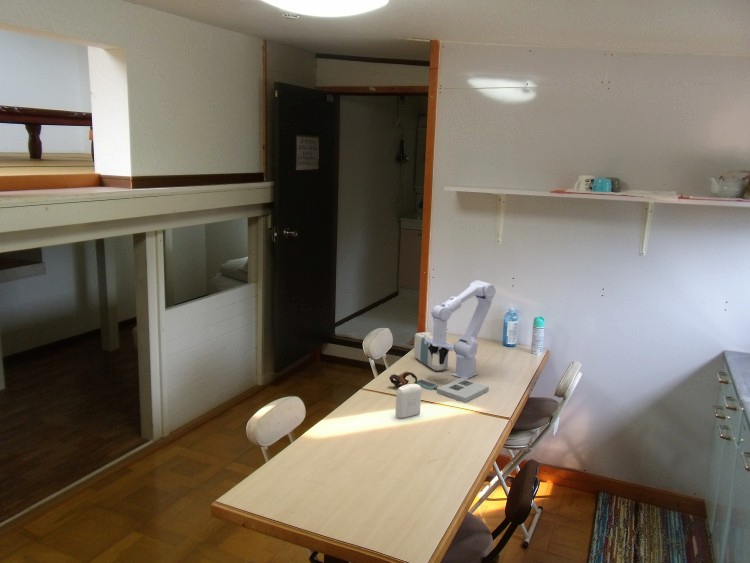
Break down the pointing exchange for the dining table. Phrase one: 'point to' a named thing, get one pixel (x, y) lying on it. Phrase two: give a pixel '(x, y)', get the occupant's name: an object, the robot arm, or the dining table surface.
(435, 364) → the charger plug
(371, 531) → the dining table surface
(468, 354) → the robot arm
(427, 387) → the phone with cable
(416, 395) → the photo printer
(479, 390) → the outlet plate
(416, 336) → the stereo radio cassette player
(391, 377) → the brown curved looped piece
